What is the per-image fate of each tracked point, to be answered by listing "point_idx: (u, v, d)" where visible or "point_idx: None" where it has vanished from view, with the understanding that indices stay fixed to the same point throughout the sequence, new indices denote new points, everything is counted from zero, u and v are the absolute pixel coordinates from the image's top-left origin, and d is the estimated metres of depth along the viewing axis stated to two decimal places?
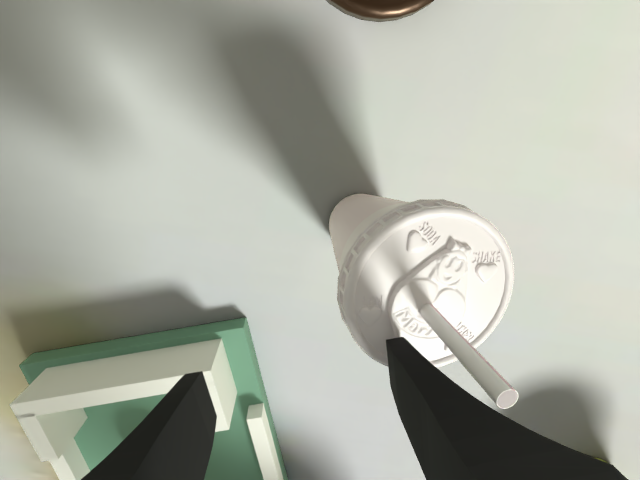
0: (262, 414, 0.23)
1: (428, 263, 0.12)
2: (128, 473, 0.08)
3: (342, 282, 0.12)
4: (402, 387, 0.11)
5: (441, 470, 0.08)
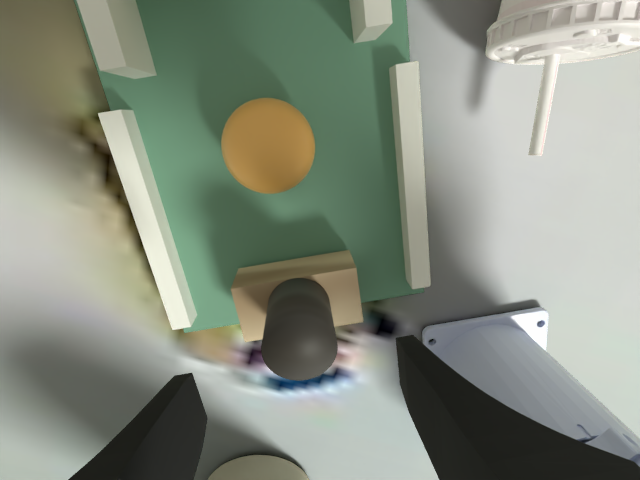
0: None
1: (582, 42, 0.14)
2: (113, 476, 0.08)
3: (504, 20, 0.14)
4: (413, 385, 0.11)
5: (456, 467, 0.08)
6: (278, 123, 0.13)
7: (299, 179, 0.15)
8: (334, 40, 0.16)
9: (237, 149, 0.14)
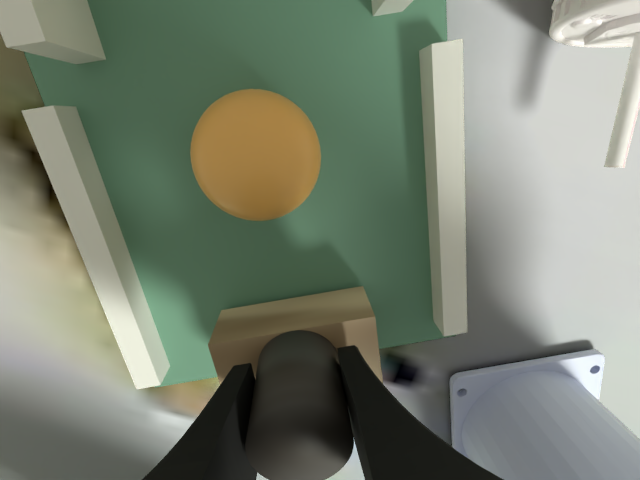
0: None
1: None
2: (203, 460, 0.08)
3: None
4: (347, 396, 0.11)
5: None
6: (269, 125, 0.09)
7: (299, 202, 0.11)
8: (346, 11, 0.12)
9: (210, 162, 0.09)
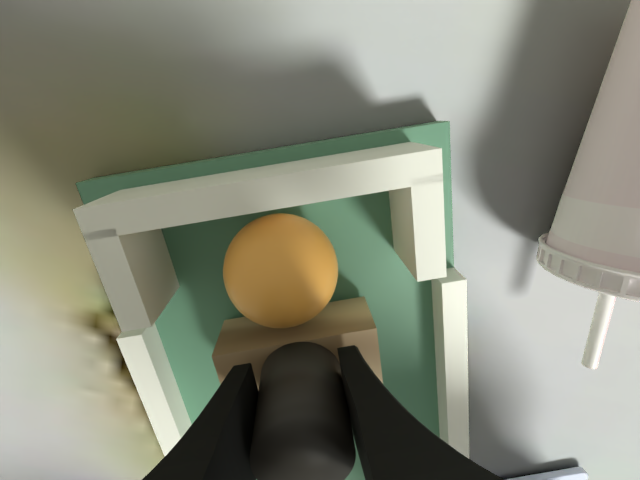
0: None
1: None
2: (203, 460, 0.08)
3: (566, 256, 0.13)
4: (347, 396, 0.11)
5: None
6: None
7: (304, 229, 0.11)
8: (372, 247, 0.15)
9: None
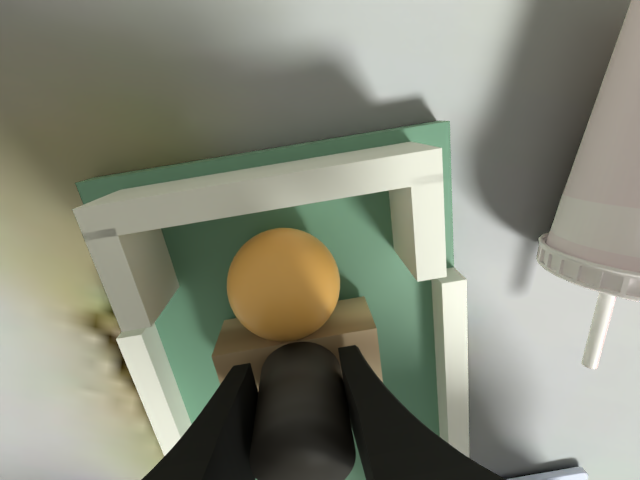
0: None
1: None
2: (202, 460, 0.08)
3: (566, 256, 0.13)
4: (348, 396, 0.11)
5: None
6: None
7: (309, 255, 0.11)
8: (372, 247, 0.15)
9: None
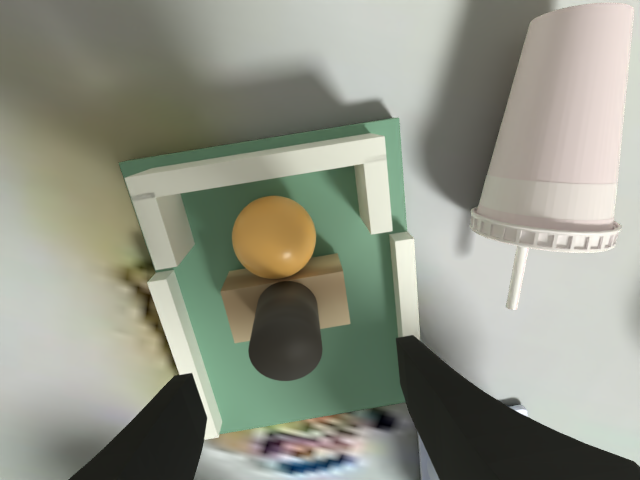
0: None
1: None
2: (113, 476, 0.08)
3: (484, 218, 0.17)
4: (413, 385, 0.11)
5: (456, 467, 0.08)
6: None
7: (291, 213, 0.16)
8: (343, 215, 0.19)
9: None
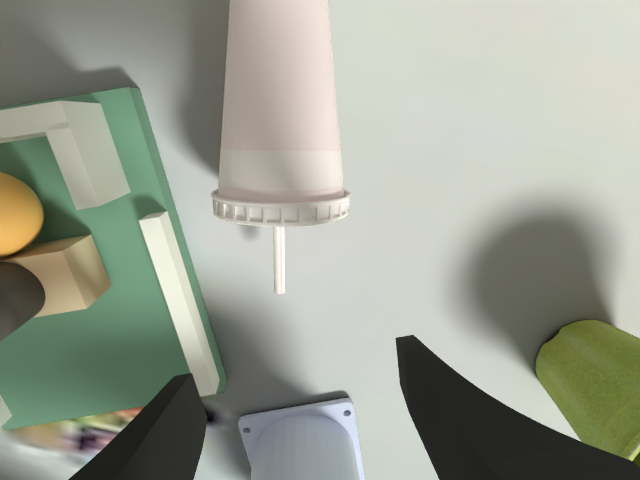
0: (162, 217, 0.18)
1: None
2: (113, 476, 0.08)
3: (215, 194, 0.16)
4: (413, 385, 0.11)
5: (456, 467, 0.08)
6: None
7: None
8: None
9: None
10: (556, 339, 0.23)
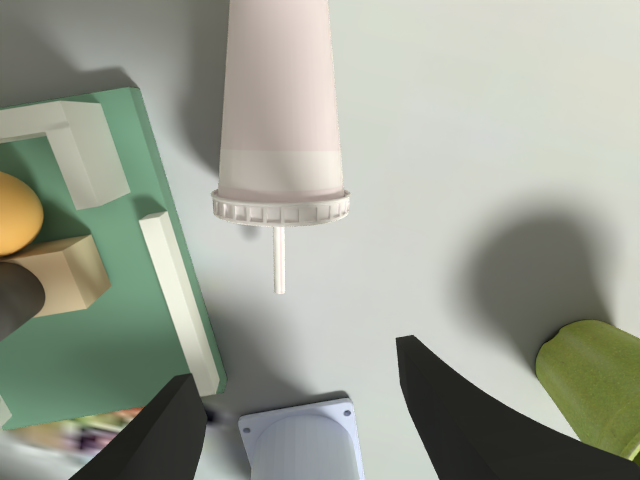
0: (162, 217, 0.18)
1: None
2: (113, 476, 0.08)
3: (215, 194, 0.16)
4: (413, 385, 0.11)
5: (456, 467, 0.08)
6: None
7: None
8: None
9: None
10: (556, 339, 0.23)
